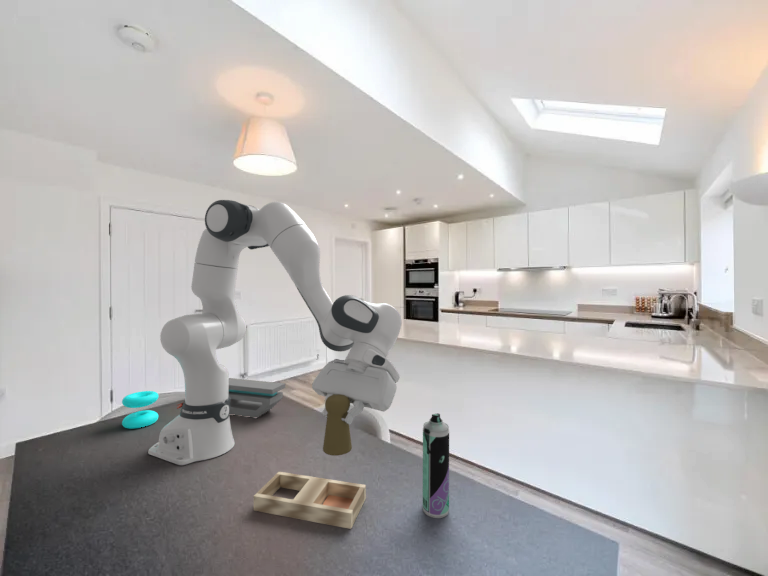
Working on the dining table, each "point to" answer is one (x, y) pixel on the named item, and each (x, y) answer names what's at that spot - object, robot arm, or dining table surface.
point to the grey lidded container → (253, 396)
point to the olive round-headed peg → (337, 426)
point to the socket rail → (312, 499)
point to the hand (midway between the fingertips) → (335, 419)
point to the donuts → (140, 417)
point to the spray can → (436, 467)
